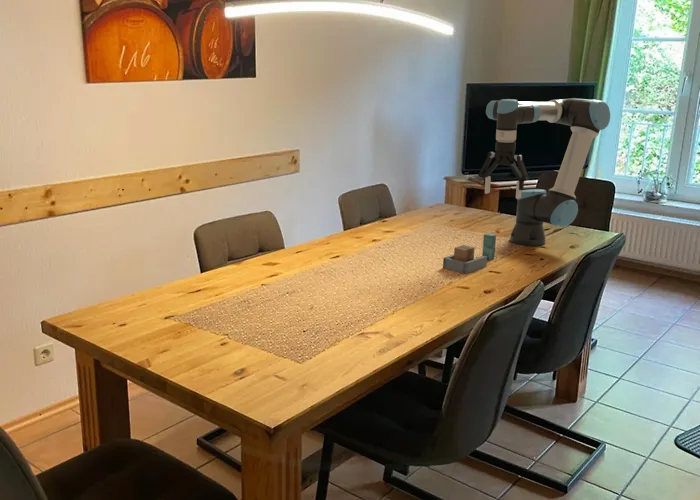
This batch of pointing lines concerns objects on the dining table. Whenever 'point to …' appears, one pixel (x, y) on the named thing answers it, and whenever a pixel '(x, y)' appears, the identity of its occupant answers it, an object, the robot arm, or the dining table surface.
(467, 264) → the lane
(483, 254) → the tethered block
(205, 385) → the dining table surface
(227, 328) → the dining table surface
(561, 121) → the robot arm
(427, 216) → the dining table surface
